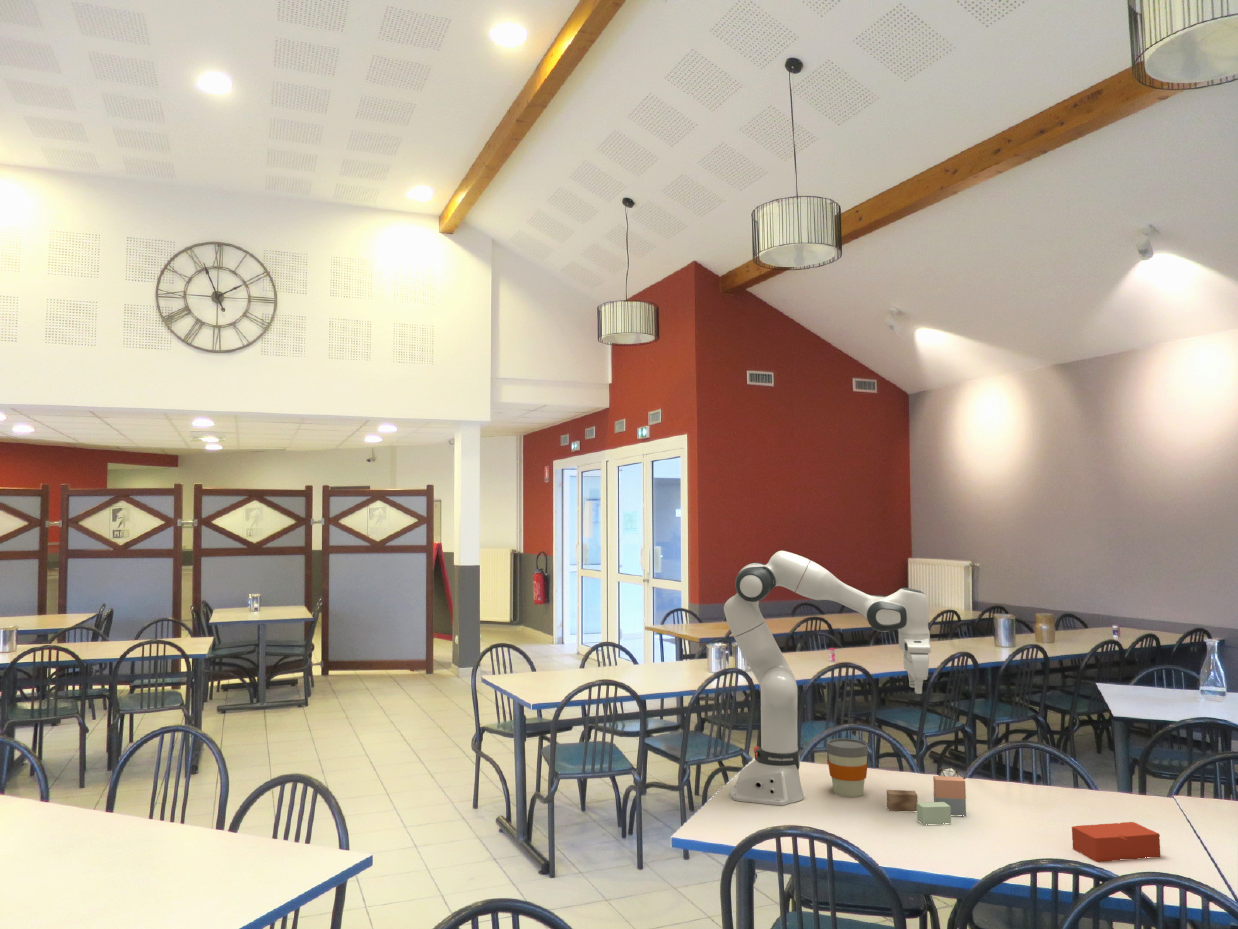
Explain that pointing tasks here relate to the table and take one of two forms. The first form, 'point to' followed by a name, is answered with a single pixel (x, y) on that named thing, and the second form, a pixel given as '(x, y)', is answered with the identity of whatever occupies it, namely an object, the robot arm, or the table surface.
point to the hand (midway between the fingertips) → (915, 690)
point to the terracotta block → (949, 787)
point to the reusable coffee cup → (847, 766)
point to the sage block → (933, 813)
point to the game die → (949, 773)
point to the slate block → (954, 805)
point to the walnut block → (901, 800)
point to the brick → (1115, 841)
